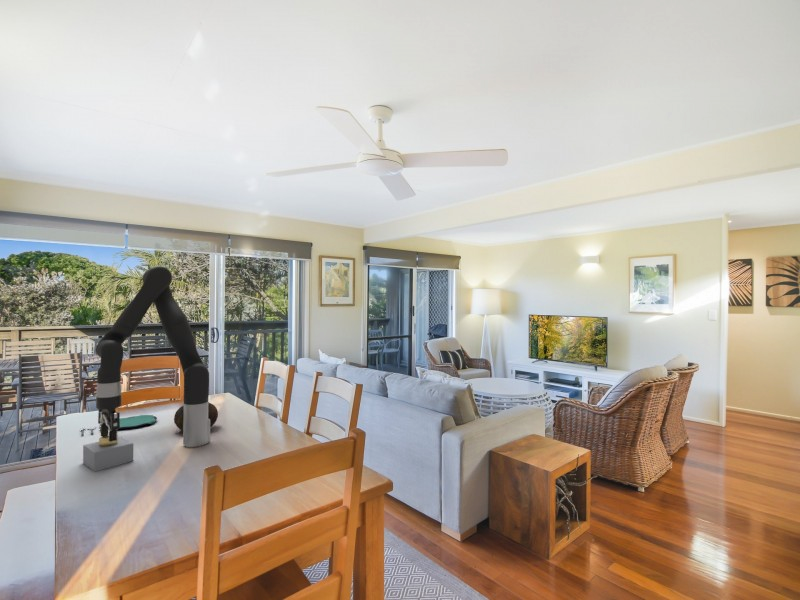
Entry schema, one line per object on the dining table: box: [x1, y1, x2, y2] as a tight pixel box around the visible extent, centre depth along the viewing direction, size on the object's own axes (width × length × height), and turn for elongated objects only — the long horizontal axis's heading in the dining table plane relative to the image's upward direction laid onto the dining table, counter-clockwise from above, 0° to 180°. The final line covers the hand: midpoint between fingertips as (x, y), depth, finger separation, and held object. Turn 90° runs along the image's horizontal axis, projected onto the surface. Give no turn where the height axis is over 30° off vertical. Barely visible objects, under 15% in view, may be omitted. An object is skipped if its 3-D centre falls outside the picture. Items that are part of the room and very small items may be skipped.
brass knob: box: [98, 434, 119, 447], centre depth 149 cm, size 6×6×8 cm
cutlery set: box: [80, 414, 158, 437], centre depth 192 cm, size 20×30×2 cm, turn 128°
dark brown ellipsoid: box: [173, 401, 219, 432], centre depth 187 cm, size 18×18×28 cm
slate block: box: [82, 436, 134, 472], centre depth 149 cm, size 12×12×6 cm
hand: (108, 438), depth 149 cm, fingers open, 8 cm apart
